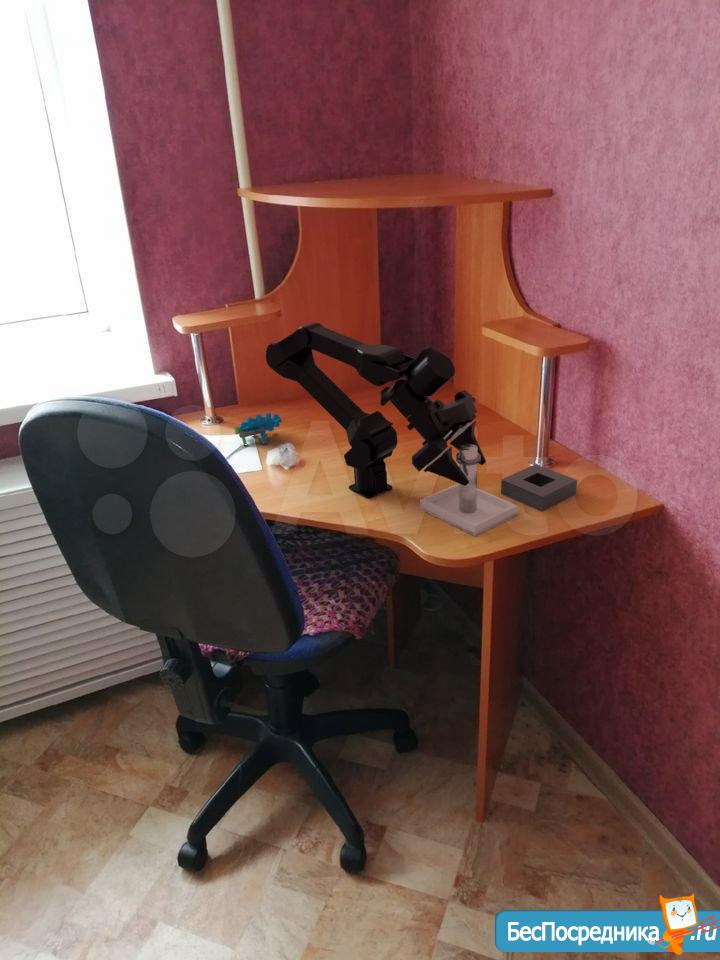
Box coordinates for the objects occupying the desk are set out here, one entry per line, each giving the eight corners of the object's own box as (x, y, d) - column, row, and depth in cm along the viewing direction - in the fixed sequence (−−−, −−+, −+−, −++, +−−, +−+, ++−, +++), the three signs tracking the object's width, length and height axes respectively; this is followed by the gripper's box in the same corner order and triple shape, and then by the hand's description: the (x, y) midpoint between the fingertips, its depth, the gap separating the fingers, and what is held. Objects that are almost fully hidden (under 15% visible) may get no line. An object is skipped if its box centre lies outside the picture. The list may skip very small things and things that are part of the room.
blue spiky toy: (282, 423, 180) (278, 406, 170) (288, 446, 178) (284, 429, 169) (236, 435, 179) (230, 418, 169) (242, 457, 177) (236, 442, 168)
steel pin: (451, 506, 140) (451, 445, 134) (472, 501, 141) (473, 440, 136) (462, 517, 136) (463, 454, 131) (484, 511, 138) (485, 449, 132)
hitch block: (500, 493, 145) (501, 479, 144) (534, 477, 151) (535, 464, 149) (541, 511, 138) (542, 496, 137) (576, 494, 143) (577, 480, 142)
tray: (420, 508, 141) (420, 499, 140) (462, 490, 147) (462, 481, 146) (474, 536, 131) (474, 526, 130) (517, 515, 137) (517, 505, 136)
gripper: (427, 398, 122) (491, 470, 123) (466, 365, 137) (523, 429, 137) (385, 437, 129) (445, 504, 129) (426, 401, 144) (480, 462, 144)
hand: (476, 473), depth 135 cm, fingers open, 9 cm apart
